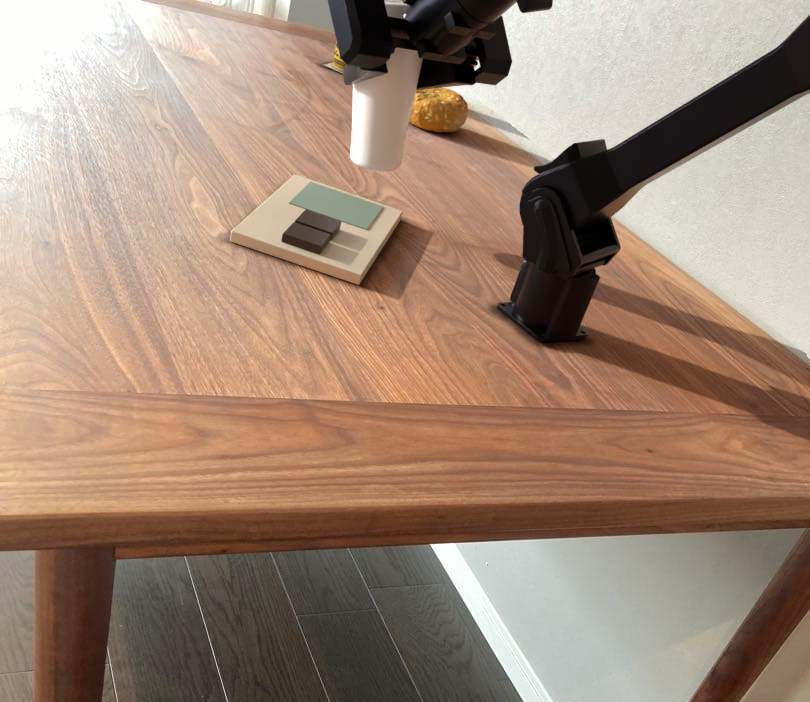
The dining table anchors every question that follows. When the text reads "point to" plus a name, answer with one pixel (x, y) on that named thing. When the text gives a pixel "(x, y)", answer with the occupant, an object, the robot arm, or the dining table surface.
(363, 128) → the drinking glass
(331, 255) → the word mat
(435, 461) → the dining table surface
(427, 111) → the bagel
